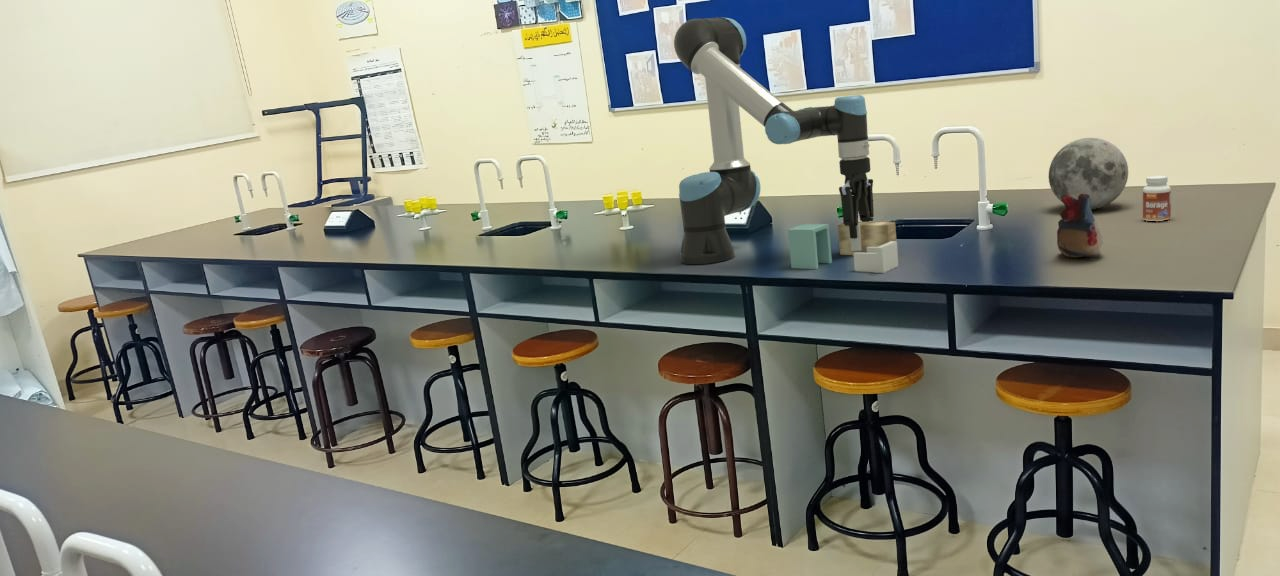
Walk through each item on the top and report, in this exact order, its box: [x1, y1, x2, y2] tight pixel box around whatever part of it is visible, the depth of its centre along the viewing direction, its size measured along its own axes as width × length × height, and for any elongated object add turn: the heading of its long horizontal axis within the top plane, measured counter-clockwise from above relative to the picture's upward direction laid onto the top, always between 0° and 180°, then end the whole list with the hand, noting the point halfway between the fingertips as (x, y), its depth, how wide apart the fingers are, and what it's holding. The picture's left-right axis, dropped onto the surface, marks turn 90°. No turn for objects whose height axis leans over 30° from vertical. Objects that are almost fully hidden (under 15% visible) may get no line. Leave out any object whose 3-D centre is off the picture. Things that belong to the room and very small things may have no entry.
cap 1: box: [787, 223, 833, 270], centre depth 229 cm, size 7×7×10 cm
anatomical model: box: [1056, 194, 1104, 258], centre depth 203 cm, size 9×13×15 cm
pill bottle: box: [1142, 175, 1172, 220], centre depth 231 cm, size 6×6×11 cm
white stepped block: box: [852, 240, 899, 274], centre depth 217 cm, size 8×7×6 cm
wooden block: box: [837, 221, 897, 256], centre depth 235 cm, size 14×4×8 cm, turn 48°
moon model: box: [1048, 137, 1129, 210], centre depth 256 cm, size 20×20×20 cm
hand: (861, 248), depth 237 cm, fingers closed on wooden block, 4 cm apart
